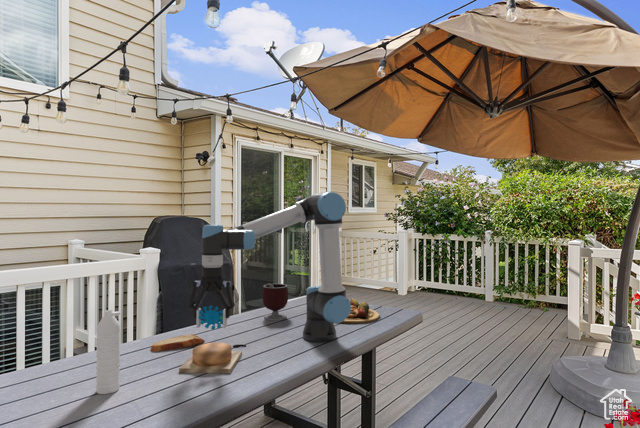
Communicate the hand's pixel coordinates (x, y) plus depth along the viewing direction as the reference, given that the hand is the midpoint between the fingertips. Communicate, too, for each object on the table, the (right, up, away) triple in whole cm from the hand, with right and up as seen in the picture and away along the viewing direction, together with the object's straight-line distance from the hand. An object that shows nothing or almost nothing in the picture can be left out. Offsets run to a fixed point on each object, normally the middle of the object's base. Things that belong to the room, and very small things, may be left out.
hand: (211, 326), depth 147 cm
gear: (0, 0, 0) cm, 1 cm away
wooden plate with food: (+57, -15, +70) cm, 91 cm away
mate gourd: (+16, -14, +67) cm, 70 cm away
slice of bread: (-20, -14, +20) cm, 32 cm away
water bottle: (-25, -14, -23) cm, 37 cm away
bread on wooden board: (0, -14, 0) cm, 14 cm away
